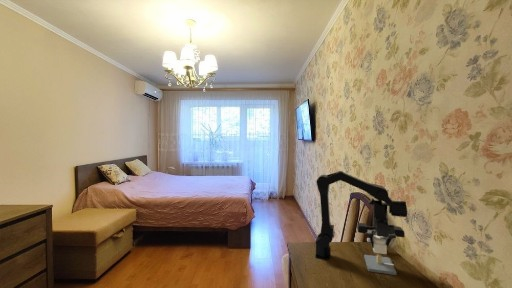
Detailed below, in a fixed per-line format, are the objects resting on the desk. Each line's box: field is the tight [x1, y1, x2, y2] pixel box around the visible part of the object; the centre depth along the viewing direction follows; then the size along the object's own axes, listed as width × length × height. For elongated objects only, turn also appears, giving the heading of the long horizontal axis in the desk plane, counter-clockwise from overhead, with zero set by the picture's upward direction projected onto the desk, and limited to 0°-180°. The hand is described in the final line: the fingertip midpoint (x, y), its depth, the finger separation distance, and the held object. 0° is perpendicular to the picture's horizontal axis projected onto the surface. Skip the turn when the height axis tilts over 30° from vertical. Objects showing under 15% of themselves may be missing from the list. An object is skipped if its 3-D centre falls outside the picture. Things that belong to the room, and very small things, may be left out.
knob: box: [372, 235, 388, 255], centre depth 112 cm, size 5×5×6 cm
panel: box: [363, 253, 398, 276], centre depth 112 cm, size 12×13×5 cm
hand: (379, 248), depth 112 cm, fingers closed on knob, 5 cm apart
